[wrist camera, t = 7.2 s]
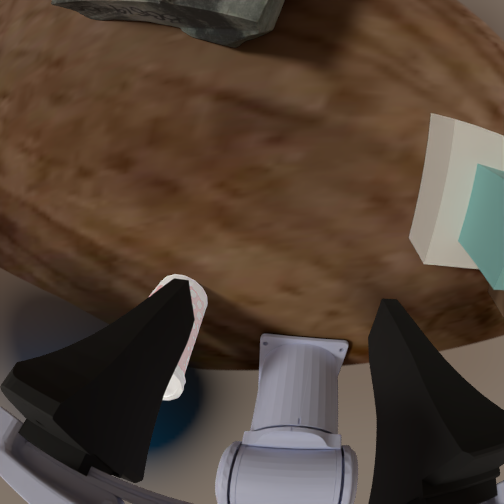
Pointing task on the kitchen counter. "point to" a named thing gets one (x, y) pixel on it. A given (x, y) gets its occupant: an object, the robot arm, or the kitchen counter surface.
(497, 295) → the walnut cube
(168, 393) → the beverage cup
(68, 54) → the kitchen counter surface
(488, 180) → the teal cube
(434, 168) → the ceramic base
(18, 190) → the kitchen counter surface
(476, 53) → the kitchen counter surface
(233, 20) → the stone block
